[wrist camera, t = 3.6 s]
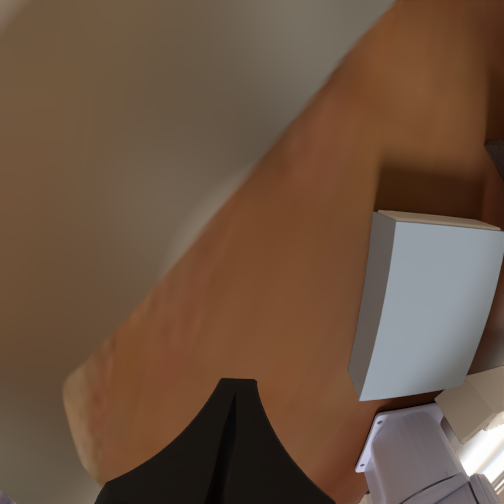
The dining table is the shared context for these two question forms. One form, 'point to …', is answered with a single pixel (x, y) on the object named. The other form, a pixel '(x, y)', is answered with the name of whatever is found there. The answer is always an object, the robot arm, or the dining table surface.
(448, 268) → the white block
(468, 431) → the shallow white tray
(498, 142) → the grey long angular piece
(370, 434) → the robot arm
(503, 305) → the dining table surface
